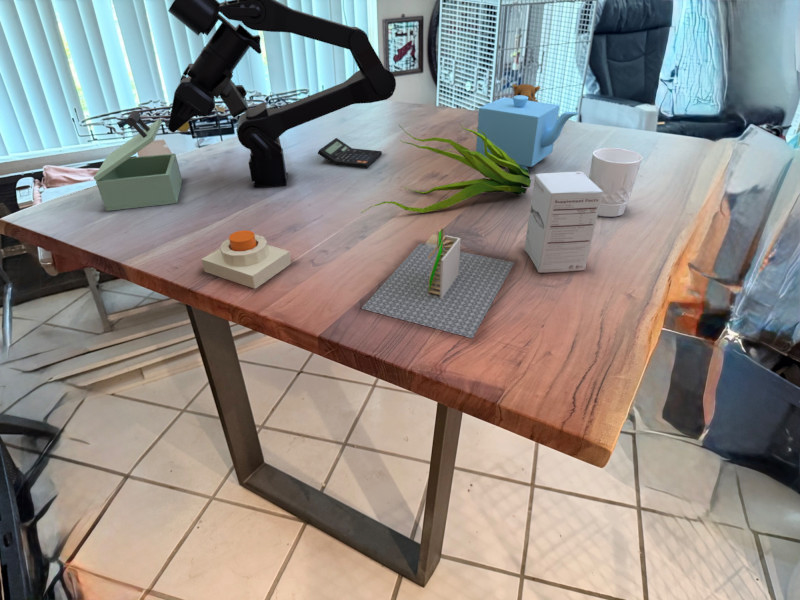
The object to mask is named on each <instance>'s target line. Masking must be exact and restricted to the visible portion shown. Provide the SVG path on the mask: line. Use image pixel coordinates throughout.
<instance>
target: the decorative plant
mask: <svg viewBox="0 0 800 600" xmlns="http://www.w3.org/2000/svg"><path fill="white" fill-rule="evenodd" d="M459 125H460V127H461V128H462V129H463V130H465V131H468V132H470V133H471V134H472V133H473V134H474V135H475V136H476V137H477V136H479V137H480V138H481V139H482V140H483V142H484V154H485V156H487V157H488V158H487V157H485V156H484V155H482V154H481V153H479V152H478V151H476V150H474V151H473V150H470V149H469V148H467V147H465V146H464V145H462V144H459V143H458V142H456V141H454V140H452V139H450V138H442V137H437V136H436V137H429V138H424V139H421V138H416V137H415V136H413V135H411V134H410V133H408V132H406V130H404V128H403V127H402V126H401V125H400V124H398V126H399V127H400V128H401V129H402V130H403V132H404V133H406V135H408V136H410V137H411V138H412V139H413V140H415V141H419V142H422V143H423V142H424V143H425V142H435V141H436V142H440V143H446V144H450V146H452V147H453V148H447V150H450V151H451V150H452V151H457V152H458V153H459V154H457V153H453V152H450V151H446V150H444V149H443V150H442V149H439V148H435V147H431V146H428V145H417V144H415V143H413V142H407V141H403V140H401V139H399V141H400V142H402V143H404V144H408V145H412V146H414V147H415V148H418V149H423V150H427V151H430V152H434V153H436V154H439V155H442V156H445V157H448V158H450V159H452V160H456V161H458V162H459V163H461V164H464V165H465V166H468V167H470V169H473V170H475V171H477V172H478V173H479V174H481V175H482V176H483V178H476V179H470V180H464V181H458V182H453V183H448V184H444V185H443V184H442V185H439V186H438V185H437V186H435V187H433V188H431V189H429V190H426V191H418V190H413V189H410V188H407V187H405V186H404V189H407V190H409V191H411V192H415V193H419V194H430V193H433V192H437V191H438V192H439V191H441V192H442V191H444V192H445V191H455V190H456V191H457V190H460V191H458V192H456V193H455V194H453V195H451V196H449V197H448V198H445V199H443V200H440V201H438V202H436V203H432V204H430V205H428V206H425V207H413V206H406V205H404V204H401V203H399V202H397V201H386V200H385V201H382V202H379V203H377V204H374V205H371V206H369V207H368V208H366V209H364V210H363V211H361V212H360V214H363V213H364V212H366V211H368V210H369V209H371V208H374V207H377V206H380V205H381V206H382V205H384V204H391V205H395V206H397V207H399V208H401V209H403V210H404V211H407V212H415V213H422V214H424V213H425V214H426V213H429V212H434V211H439V210H443V209H447V208H449V207H451V206H454V205H456V204H458V203H460V202H463V201H465V200H468V199H470V198H472V197H475V196H478V195H481V194H483V193H504V192H505V193H510V194H514V195H518V196H520V195H521V196H522V194H526V192H527V190H528V188H530V187H531V181H532V179H531V176H530V174H529V173H530V169H527V170H526V169H523V168H521V167H520V166H519V165H518V164H517V163H516V162H515V160H514V159H511V158H510V157H509V156H508V155H507V154H506V153H505V152H504V151H503V150H501V149H500V148H498V147H497V146H495V145H494V144H493V143H492V142H491V141H490V140H489V139H487V137H486V135H485V133H483V132H482V131H481V132H482V133H483V134H484V135H485V136H483V135H482V134H480V133H478V128H475V127H473V129H468V128H465V127H464V126H463V125H462V124H461V123H459ZM475 130H476V131H475ZM479 131H480V130H479ZM487 147H488V149H489V150H490V152H491V153H492V154H493V155H492V154H490V153H488V151H487ZM495 163H496V164H497V165H496V164H495ZM500 166H501V167H500ZM502 167H504V168H506V169H507V170H508V171H506V170H504V169H502Z"/></svg>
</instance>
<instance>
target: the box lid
mask: <svg viewBox="0 0 800 600" xmlns="http://www.w3.org/2000/svg"><path fill="white" fill-rule="evenodd" d="M162 123H163V121H162V120H161V119H160V118H158V119H157V120H155V121H154V122H153V123H151V124H150V125H149V126H148V125H147V123H146V122H144V120H143V119H142V117H141V114H140V112H139V111H137V110H132V111H131V112H130V114H129V115H128V117H127V118H126V125H127V126H129V127H131V128H134V129H135V131H136V132H137V134H136V135H134V136H133V137H131V138H130V139H129V140H127V141H126V142H124V143H123V144H122V145H120V146H119V147H117V148H116V149H115V150H113V151H112V152H111V153H109V154H108V155H106V157H105V159H104V160H103V162H102V164H101V165H100V167H98V170H97V171H96V173H95V174H94V177H93V180H95V182H96V181H97V180H99V179H100V178H102V177H103V176H105V175H106V174H107V173H109V172H110V171H112V170H113V169H114V168H116V167H117V166H119V165H120V164H121V163H123V162H124V161H126V160H127V159H129V158H131V157H134V155H136V154H138V152H140V151H141V150H142V149H145V147H147V146H149V145H150V144H151V143H153V142H154V141H155V139H156V137H157V135H158V133H159V130H160V128H161V126H162Z"/></svg>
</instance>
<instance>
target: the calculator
mask: <svg viewBox="0 0 800 600" xmlns="http://www.w3.org/2000/svg"><path fill="white" fill-rule="evenodd" d="M382 153H383V152H382V150H374V149H364V148H363V149H362V148H353V147H351V146H349V145H348V144H347V143H346V142H344V141H342V140H340V139H339V138H338V137H335V138H334V139H332V140H331V141H330V142H328V143H327V144H326V145H324V146H323V147H321V148H319V150H318V151H317V155H318V156H321V157H322V158H323V159H325V160H327V162H330V163H332V164H333V165H335V166H340V167H349V168H350V167H351V168H358V169H368V168H370V166H372V164H374V163H375V162H376V161H377V160H378V159H379V158H381V156H382V155H383V154H382Z"/></svg>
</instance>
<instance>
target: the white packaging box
mask: <svg viewBox="0 0 800 600" xmlns="http://www.w3.org/2000/svg"><path fill="white" fill-rule="evenodd" d="M602 193H603V191H602V190H601V189H600V188H599V187H598V186H597V185H596V184H594V183H593V181H591V180H590V179H589V176H587V175H586V174H585V173H584V172H583V171H563V172H561V171H560V172H543V173H535V174H534V180H533V187H532V195H531V201H530V208H529V213H528V220H527V221H528V222H527V227H526V228H527V229H526V235H525V243H524V247H523V248H524V251H525V252H526V254H527V255H528V256H529V258H530V260H531V262H532V263H533V265H534V267H535V269H536V270H537V272H538V273H539V274H544V273H546V274H547V273H562V272H563V273H565V272H578V271H585V270H586V267H587V264H588V258H589V253H590V249H591V245H592V240H593V237H594V232H595V228H596V224H597V219H598V216H599V215H598V211H599V207H600V202H601V198H602Z"/></svg>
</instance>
